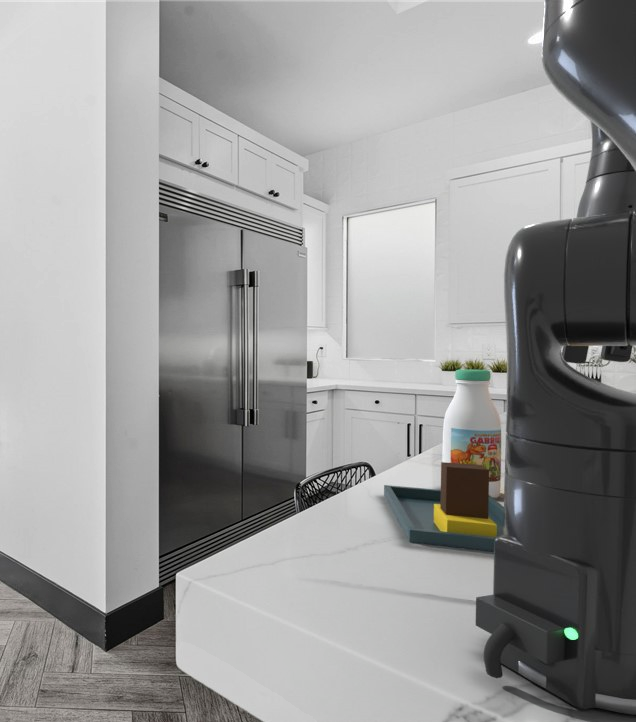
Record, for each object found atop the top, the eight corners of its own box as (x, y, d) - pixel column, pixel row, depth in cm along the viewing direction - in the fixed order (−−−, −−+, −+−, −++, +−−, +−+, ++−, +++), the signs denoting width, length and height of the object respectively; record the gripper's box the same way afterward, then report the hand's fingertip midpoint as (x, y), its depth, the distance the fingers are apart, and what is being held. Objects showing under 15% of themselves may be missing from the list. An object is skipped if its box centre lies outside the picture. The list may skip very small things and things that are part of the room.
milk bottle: (431, 490, 88) (433, 369, 87) (459, 485, 91) (462, 368, 90) (481, 502, 81) (484, 371, 80) (510, 496, 84) (513, 370, 83)
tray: (550, 563, 59) (551, 545, 58) (409, 546, 64) (409, 529, 63) (487, 507, 79) (487, 493, 79) (383, 497, 84) (384, 484, 84)
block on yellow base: (496, 545, 62) (498, 473, 62) (446, 540, 64) (448, 470, 64) (478, 526, 69) (479, 461, 68) (433, 522, 71) (434, 458, 70)
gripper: (549, 234, 68) (525, 358, 69) (615, 199, 55) (585, 354, 55) (622, 239, 66) (597, 368, 66) (710, 204, 52) (678, 366, 53)
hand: (592, 361), depth 61 cm, fingers open, 8 cm apart
